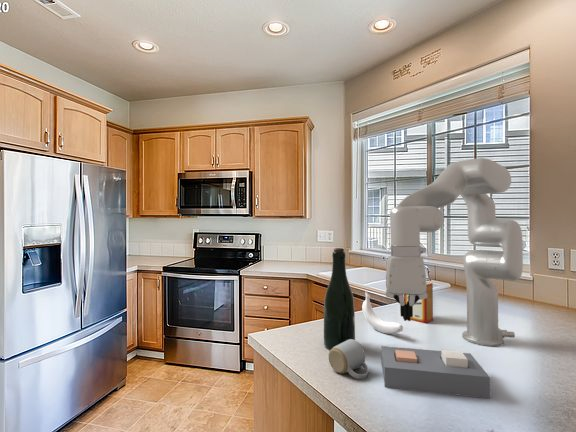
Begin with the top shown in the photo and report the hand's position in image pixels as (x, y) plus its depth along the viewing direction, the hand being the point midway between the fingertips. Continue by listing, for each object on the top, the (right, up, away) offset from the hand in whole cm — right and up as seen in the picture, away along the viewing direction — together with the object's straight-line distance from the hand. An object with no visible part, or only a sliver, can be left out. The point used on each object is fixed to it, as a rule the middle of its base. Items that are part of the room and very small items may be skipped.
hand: (406, 319), depth 87 cm
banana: (+3, -16, +34) cm, 37 cm away
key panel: (+6, -15, -2) cm, 16 cm away
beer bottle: (-15, -16, +20) cm, 30 cm away
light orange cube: (0, -14, 0) cm, 14 cm away
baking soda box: (+23, -16, +50) cm, 57 cm away
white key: (+11, -13, -3) cm, 18 cm away
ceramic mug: (-15, -16, +3) cm, 22 cm away
